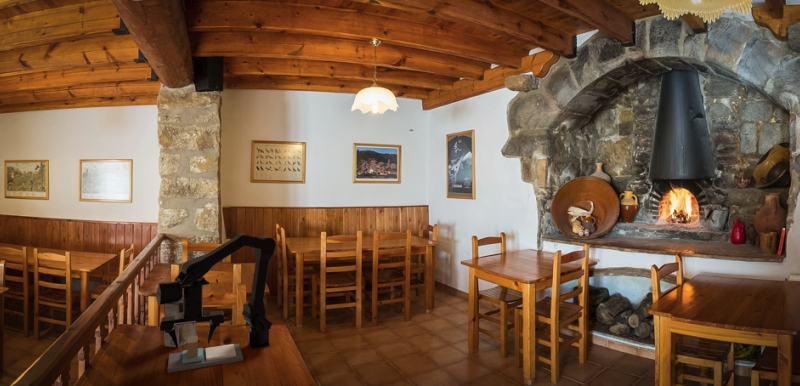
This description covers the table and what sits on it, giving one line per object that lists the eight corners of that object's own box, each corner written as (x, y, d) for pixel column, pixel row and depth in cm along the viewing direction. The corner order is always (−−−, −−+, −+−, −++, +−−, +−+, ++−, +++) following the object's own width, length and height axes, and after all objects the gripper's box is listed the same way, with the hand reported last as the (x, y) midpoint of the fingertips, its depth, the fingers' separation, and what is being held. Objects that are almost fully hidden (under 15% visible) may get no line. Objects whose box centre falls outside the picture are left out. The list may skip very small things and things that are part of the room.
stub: (202, 350, 144) (202, 333, 144) (203, 360, 136) (203, 342, 136) (182, 352, 142) (182, 335, 142) (182, 363, 134) (182, 345, 133)
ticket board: (239, 347, 151) (239, 341, 151) (242, 360, 140) (242, 354, 140) (169, 357, 141) (169, 351, 141) (167, 372, 131) (167, 366, 131)
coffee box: (181, 336, 160) (181, 294, 159) (196, 338, 158) (196, 296, 158) (163, 346, 151) (163, 301, 150) (179, 348, 149) (179, 303, 149)
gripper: (222, 290, 150) (222, 333, 150) (162, 295, 141) (162, 341, 142) (224, 298, 140) (224, 344, 140) (159, 305, 131) (160, 354, 132)
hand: (193, 345), depth 139 cm, fingers open, 9 cm apart
